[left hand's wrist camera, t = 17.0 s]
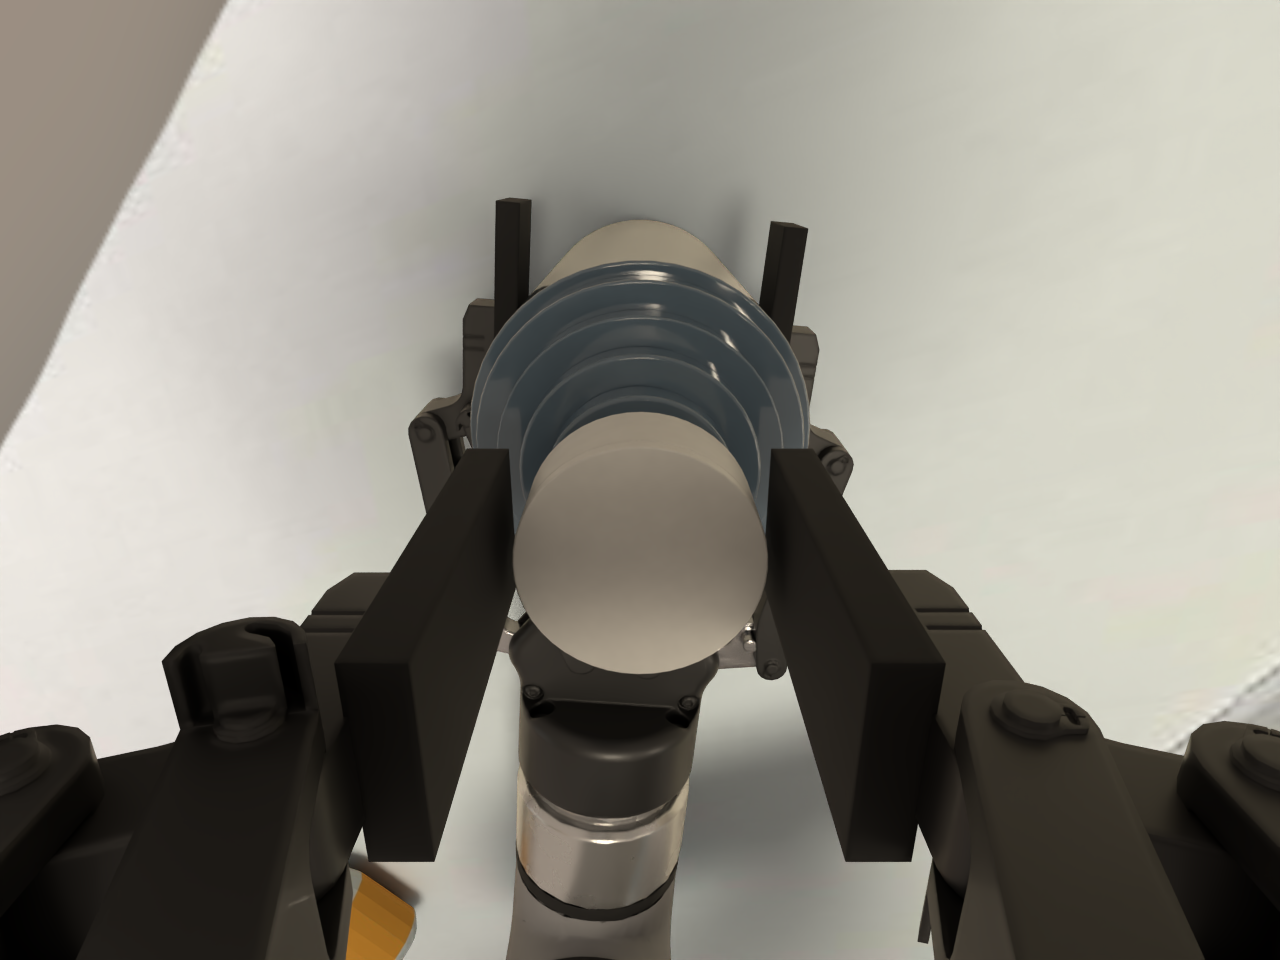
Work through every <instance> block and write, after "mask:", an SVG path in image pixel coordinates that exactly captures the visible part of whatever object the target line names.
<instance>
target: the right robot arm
mask: <svg viewBox="0 0 1280 960" xmlns="http://www.w3.org/2000/svg"><path fill="white" fill-rule="evenodd" d="M530 232H531V200H529V199H518V198H506V199H501V200H497V201H496V222H495V292H494V300H492V299H480V298H477V299H476V300H474V301H473V302H472V303H470V304H469V306H468V308H467V311H466V313H465V315H464V318H463V390H462V393H461V394H458V395H456V396H452V397H448V398H435V399H433V400H431V401H430V402H429V403H428V404H427V405H426V406H425V407H424V409H423V410H422V411H421V412H420V413H419V414H418V415H417V416H416V417H415V419H414V420H413V421H412V422H411V423H410V426H409V428H408V433H409V439H410V443H411V448H412V452H413V457H414V461H415V465H416V470H417V474H418V479H419V483H420V487H421V492H422V496H423V501H424V505H425V509H426V514H427V512H428V511H429V509H430V507H431V506H432V504H433V503H434V501H435V499H436V498H437V496H438V495H439V493H440V491H441V490H442V488H443V487H444V485H445V483H446V482H447V480H448V478H449V477H450V475H451V474H452V472H453V470H454V469H455V467H456V466H457V464H458V462H459V461H460V459H461V457H462V456H463V454H464V453H465V446H464V441H463V437H464V436H467V438H468V440H469V442H470V445H471V447H472V440H471V428H470V419H471V402H472V397H473V392H474V387H475V382H476V379H477V376H478V373H479V370H480V367H481V364H482V361H483V360H484V358H485V356H486V354H487V352H488V350H489V348H490V346H491V344H492V342H493V340H494V339H495V337H496V336H497V335H498V333H499V332H500V330H501V329H502V327H503V326H504V325H505V323H506V322H507V321H508V320H509V319H510V317H511V316H512V315H513V314H514V313H515V312H516V311H517V309H518V308H519V307H520V306H521V305H522V304H523V303H524V301H525V300H526V299H527V298H528V297H529V265H530ZM807 233H808V228H805V227H802V226H799V225H796V224H794V223H786V222H775V221H771V224H770V231H769V238H768V245H767V252H766V260H765V267H764V274H763V281H762V288H761V295H760V302H759V306H760V307H761V308H762V309H763V310H764V311H765V312H766V314H767V315H768V316H769V317H770V318H771V319H772V320H773V322H774V323H775V324H776V325H777V327H778V328H779V330H780V331H781V333H782V334H783V335H784V337H785V338H786V340H787V341H788V343H789V345H790V347H791V349H792V351H793V353H794V355H795V357H796V359H797V361H798V363H799V366H800V369H801V372H802V375H803V378H804V381H805V385H806V390H807V395H808V400H809V406H810V401H811V395H812V389H813V383H814V377H815V372H816V365H817V360H818V354H819V346H818V342H817V337H816V334H815V333H814V332H813V331H812V330H811V329H809V328H808V327H805V326H793V322H794V315H795V309H796V303H797V296H798V290H799V284H800V277H801V271H802V265H803V258H804V252H805V246H806V240H807ZM472 449H473V448H472ZM808 449H814V451H815V453H816V454H817V456H818V457H819V459H820V461H821V462H822V464H823V466H824V467H825V469H826V470H827V472H828V474H829V475H830V477H831V478H832V480H833V482H834V483H835V485H836V487H837V488H838V490H839V491H840V493H841V495H843V492H844V490H845V487H846V485H847V483H848V480H849V478H850V475H851V473H852V470H853V465H854V464H853V459H852V457H851V456H850V455H849V453H848V452H847V450H846V449H845V448H844V446H843V445H842V444H841V442H840V441H839V440H838V438H837V437H836V436H835V434H834V433H833V432H831V431H829V430H827V429H820V428H818V427H815V426H813V425H811V424H810V432H809V444H808ZM497 651H500V652H504V653H509V657H510V660H511V662H512V664H513V665H514V667H515V668H516V670H517V672H518V674H519V677H520V682H521V690H520V721H519V751H518V752H519V762H520V765H519V770H518V774H517V821H516V873H515V887H514V902H513V915H512V924H511V932H510V939H509V945H508V950H507V956H506V960H671V951H670V931H671V915H672V904H673V894H674V884H675V874H676V869H677V864H678V857H679V852H680V848H681V843H682V836H683V829H684V821H685V814H686V807H687V800H688V793H689V775H690V772H691V768H692V762H693V755H694V748H695V740H696V733H697V726H698V719H699V712H700V705H701V698H702V694H703V691H704V689H705V688H706V686H707V685H708V683H709V682H710V681H711V680H712V679H713V678H714V676H715V675H716V673H717V671H718V669H725V668H741V667H756V668H757V672H758V674H759V675H760V676H761V677H762V678H764V679H766V680H775V679H778V678H780V677H782V676H783V675H784V673H785V672H786V669H787V663H786V659H785V656H784V653H783V649H782V646H781V643H780V639H779V636H778V632H777V629H776V626H775V622H774V619H773V616H772V612H771V609H770V606H769V602H768V599H767V595H766V592H765V589H764V590H763V593H762V597H761V599H760V601H759V603H758V605H757V607H756V609H755V611H754V613H753V614H752V616H751V617H750V619H749V621H748V622H747V624H746V625H745V626H744V627H743V628H742V629H741V631H740V632H739V633H738V634H737V635H736V636H735V637H734V638H733V639H732V640H731V641H729V642H728V643H727V644H726V645H725V646H724V647H722V648H721V649H719V650H718V651H716V652H715V653H713V654H712V655H710V656H708V657H706V658H704V659H702V660H701V661H699V662H696V663H693V664H691V665H688V666H686V667H683V668H679V669H675V670H671V671H666V672H660V673H651V674H631V673H620V672H615V671H609V670H605V669H602V668H598V667H595V666H592V665H589V664H587V663H585V662H582V661H580V660H578V659H576V658H574V657H572V656H571V655H569V654H567V653H565V652H564V651H563V650H561V649H560V648H559V647H557V646H556V645H555V644H553V643H552V642H551V641H550V640H549V639H548V638H547V637H546V636H545V635H544V634H543V633H541V631H540V630H539V629H538V628H537V626H536V625H535V624H534V623H533V621H532V620H531V618H530V617H529V615H528V613H527V612H525V613H524V614H523V615H522V617H521V618H520V619H519V620H518V621H515V620H512V619H510V618H509V617H508V616H507V619H506V622H505V626H504V629H503V632H502V636H501V639H500V643H499V646H498V649H497Z"/></svg>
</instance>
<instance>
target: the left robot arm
mask: <svg viewBox="0 0 1280 960" xmlns="http://www.w3.org/2000/svg"><path fill="white" fill-rule="evenodd" d="M765 536H766V540H767V548H768V572H767V578H766V584H765V587H764V589H765V592H766V595H767V599H768V602H769V606H770V609H771V612H772V616H773V619H774V622H775V626H776V629H777V632H778V636H779V639H780V643H781V646H782V649H783V653H784V656H785V659H786V663H787V666H788V669H789V673H790V676H791V680H792V683H793V686H794V690H795V693H796V696H797V700H798V703H799V707H800V710H801V713H802V717H803V720H804V723H805V727H806V730H807V733H808V737H809V740H810V744H811V747H812V750H813V754H814V757H815V760H816V764H817V767H818V770H819V774H820V777H821V781H822V784H823V787H824V791H825V794H826V797H827V801H828V804H829V808H830V811H831V814H832V818H833V821H834V824H835V828H836V831H837V834H838V838H839V841H840V845H841V848H842V851H843V855H844V858H845V861H846V862H911V861H912V855H913V849H914V843H915V838H916V832H917V826H918V824H919V827H920V829H921V832H922V834H923V836H924V839H925V841H926V843H927V846H928V848H929V850H930V853H931V855H932V857H933V858H932V864H931V869H930V874H929V879H928V885H927V890H926V895H925V901H924V906H923V911H922V917H921V922H920V928H919V935H918V942H922V943H927V944H928V941H929V936H930V931H931V933H932V942H933V951H934V959H935V960H1280V732H1279V731H1277V730H1274V729H1271V730H1270V729H1268V728H1267V727H1262V726H1258V725H1253V724H1246V723H1237V722H1229V721H1221V722H1215V723H1208V724H1203V725H1202V726H1200V727H1199V728H1198V729H1197V730H1195V731H1194V732H1193V733H1192V734H1191V736H1190V739H1189V742H1188V745H1187V749H1186V752H1185V755H1184V756H1182V755H1177V754H1172V753H1168V752H1163V751H1158V750H1153V749H1148V748H1143V747H1139V746H1134V745H1129V744H1124V743H1120V742H1116V741H1113V740H1109V739H1105V738H1104V737H1103V735H1102V732H1101V730H1100V728H1099V727H1098V726H1097V724H1096V723H1095V722H1094V720H1093V719H1092V718H1091V716H1090V715H1089V714H1088V712H1086V711H1085V710H1083V709H1082V708H1081V707H1079V706H1078V705H1077V704H1075V703H1074V702H1072V701H1071V700H1070V699H1068V698H1067V697H1064V696H1062V695H1060V694H1058V693H1055V692H1053V691H1051V690H1049V689H1046V688H1044V687H1041V686H1037V685H1033V684H1029V683H1024V681H1023V680H1022V679H1021V677H1020V676H1019V675H1018V673H1017V672H1016V671H1015V669H1014V668H1013V666H1012V665H1011V664H1010V662H1009V661H1008V660H1007V658H1006V657H1005V656H1004V654H1003V653H1002V652H1001V650H1000V649H999V648H998V646H997V645H996V644H995V642H994V641H993V640H992V638H991V637H990V636H989V634H988V633H987V632H986V630H982V625H981V624H980V622H979V621H978V620H977V618H976V617H975V616H974V614H973V613H972V612H969V608H968V606H967V605H966V604H965V602H964V601H963V600H962V598H961V597H960V596H959V594H958V593H957V592H956V590H955V589H954V588H953V587H952V586H950V585H948V584H947V583H945V582H944V581H942V580H941V579H939V578H938V577H936V576H935V575H933V574H931V573H930V572H928V571H927V570H888V569H887V567H886V566H885V564H884V562H883V561H882V559H881V558H880V556H879V554H878V553H877V551H876V549H875V548H874V546H873V545H872V543H871V541H870V540H869V538H868V537H867V535H866V533H865V532H864V530H863V528H862V527H861V525H860V524H859V522H858V520H857V519H856V517H855V516H854V514H853V512H852V511H851V509H850V507H849V506H848V504H847V503H846V501H845V499H844V498H843V496H842V495H841V493H840V491H839V490H838V488H837V487H836V485H835V483H834V482H833V480H832V478H831V477H830V475H829V474H828V472H827V470H826V469H825V467H824V466H823V464H822V462H821V461H820V459H819V457H818V456H817V454H816V453H815V451H814V449H771V457H770V472H769V487H768V502H767V517H766V532H765ZM514 539H515V532H514V517H513V503H512V488H511V473H510V458H509V449H466V451H465V453H464V454H463V456H462V457H461V459H460V461H459V462H458V464H457V466H456V467H455V469H454V470H453V472H452V474H451V475H450V477H449V478H448V480H447V482H446V483H445V485H444V487H443V488H442V490H441V491H440V493H439V495H438V496H437V498H436V499H435V501H434V503H433V504H432V506H431V507H430V509H429V511H428V512H427V514H426V516H425V517H424V519H423V520H422V522H421V524H420V525H419V527H418V528H417V530H416V532H415V533H414V535H413V537H412V538H411V540H410V541H409V543H408V545H407V546H406V548H405V549H404V551H403V553H402V554H401V556H400V557H399V559H398V561H397V562H396V564H395V566H394V567H393V569H392V570H391V572H390V573H353V574H351V575H350V576H348V577H347V578H345V579H344V580H342V581H341V582H339V583H337V584H336V585H334V586H333V587H331V588H330V589H328V590H327V591H326V592H325V594H324V595H323V596H322V598H321V599H320V600H319V602H318V603H317V604H316V606H315V607H314V608H313V610H312V614H311V615H308V616H307V618H306V619H305V621H304V622H303V623H302V625H301V626H299V625H297V624H296V623H295V622H294V621H290V620H286V619H281V618H277V617H249V618H244V619H239V620H235V621H230V622H225V623H221V624H219V625H216V626H213V627H211V628H208V629H206V630H203V631H200V632H198V633H196V634H194V635H193V636H191V637H189V638H188V639H186V640H185V641H183V642H181V643H180V644H178V645H176V646H175V647H174V648H173V649H172V650H171V651H170V653H169V654H168V655H167V656H166V657H165V658H164V659H163V660H162V665H163V668H164V672H165V676H166V679H167V683H168V687H169V690H170V694H171V698H172V701H173V705H174V708H175V712H176V716H177V719H178V723H179V727H180V732H179V734H178V736H177V738H176V740H175V742H173V743H169V744H165V745H162V746H158V747H153V748H148V749H144V750H139V751H134V752H129V753H124V754H120V755H115V756H110V757H105V758H100V759H97V758H96V755H95V752H94V749H93V746H92V742H91V739H90V737H89V736H88V735H86V734H85V733H84V732H83V731H81V730H80V729H79V728H76V727H70V726H63V725H48V726H40V727H31V728H26V729H21V730H17V731H14V732H13V733H10V732H9V733H7V734H4V735H1V736H0V960H346V952H347V944H348V935H349V926H350V917H351V908H352V899H353V888H352V881H351V874H350V869H349V864H348V859H349V857H350V854H351V852H352V850H353V847H354V845H355V843H356V840H357V838H358V835H359V833H360V831H361V828H362V826H363V832H364V838H365V843H366V849H367V855H368V861H369V862H434V861H435V858H436V855H437V851H438V848H439V845H440V841H441V838H442V834H443V831H444V828H445V824H446V821H447V818H448V814H449V811H450V807H451V804H452V801H453V797H454V794H455V791H456V787H457V784H458V781H459V777H460V774H461V770H462V767H463V764H464V760H465V757H466V754H467V750H468V747H469V744H470V740H471V737H472V733H473V730H474V727H475V723H476V720H477V717H478V713H479V710H480V706H481V703H482V700H483V696H484V693H485V690H486V686H487V683H488V680H489V676H490V673H491V669H492V666H493V663H494V659H495V656H496V653H497V649H498V646H499V643H500V639H501V636H502V632H503V629H504V626H505V622H506V619H507V616H508V612H509V609H510V605H511V602H512V599H513V595H514V592H515V589H516V585H515V581H514V575H513V567H512V554H513V545H514Z"/></svg>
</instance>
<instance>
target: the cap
mask: <svg viewBox="0 0 1280 960" xmlns="http://www.w3.org/2000/svg"><path fill="white" fill-rule="evenodd" d="M512 567H513V575H514V581H515V585H516V588H517V592H518V595H519V597H520V600H521V602H522V604H523V607H524V608H525V610H526V612H527V613H528V615H529V617H530V618H531V620H532V621H533V623H534V624H535V625H536V626H537V628H538V629H539V630H540V631H541V633H543V634H544V635H545V636H546V637H547V638H548V639H549V640H550V641H551V642H552V643H553V644H555V645H556V646H557V647H559V648H560V649H561V650H563V651H564V652H565V653H567V654H569V655H571V656H572V657H574V658H576V659H578V660H580V661H582V662H585V663H587V664H589V665H592V666H595V667H598V668H602V669H605V670H609V671H615V672H620V673H631V674H651V673H660V672H666V671H671V670H675V669H679V668H683V667H686V666H688V665H691V664H693V663H696V662H699V661H701V660H702V659H704V658H706V657H708V656H710V655H712V654H713V653H715V652H716V651H718V650H719V649H721V648H722V647H724V646H725V645H726V644H727V643H728V642H729V641H731V640H732V639H733V638H734V637H735V636H736V635H737V634H738V633H739V632H740V631H741V629H742V628H743V627H744V626H745V625H746V624H747V622H748V621H749V619H750V617H751V616H752V614H753V613H754V611H755V609H756V607H757V605H758V603H759V601H760V599H761V597H762V593H763V590H764V587H765V584H766V578H767V572H768V548H767V540H766V536H765V533H764V529H763V526H762V523H761V520H760V517H759V514H758V511H757V508H756V505H755V502H754V499H753V496H752V494H751V491H750V488H749V485H748V482H747V480H746V478H745V475H744V473H743V471H742V469H741V467H740V466H739V464H738V463H737V461H736V459H735V458H734V457H733V455H732V454H731V453H730V452H729V451H728V450H727V448H726V447H725V446H724V445H723V444H722V443H720V442H719V441H718V440H717V439H716V438H715V437H714V436H712V435H711V434H709V433H708V432H706V431H705V430H703V429H702V428H700V427H698V426H696V425H694V424H692V423H690V422H688V421H685V420H682V419H680V418H677V417H674V416H669V415H665V414H660V413H650V412H628V413H621V414H616V415H611V416H607V417H604V418H601V419H598V420H595V421H593V422H591V423H589V424H586V425H584V426H582V427H581V428H579V429H577V430H576V431H574V432H573V433H571V434H570V435H568V436H567V437H566V438H565V439H563V440H562V441H561V442H560V443H559V444H558V445H557V446H556V447H555V448H554V449H553V450H552V451H551V452H550V453H549V455H548V456H547V457H546V459H545V460H544V462H543V463H542V465H541V466H540V468H539V470H538V472H537V474H536V476H535V478H534V481H533V484H532V487H531V490H530V493H529V496H528V499H527V502H526V504H525V507H524V510H523V513H522V516H521V519H520V522H519V525H518V528H517V531H516V534H515V539H514V545H513V554H512Z"/></svg>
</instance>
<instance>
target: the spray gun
mask: <svg viewBox="0 0 1280 960" xmlns="http://www.w3.org/2000/svg"><path fill="white" fill-rule="evenodd" d="M349 869H350V874H351V881H352V888H353V899H352V908H351V917H350V926H349V935H348V944H347V952H346V960H402V959H403V958H404V956H405V955H406V953H407V951H408V950H409V948H410V946H411V944H412V942H413V940H414V938H415V934H416V929H417V925H416V913H415V910H414V908H413V907H411V906H410V905H408V904H407V903H406V902H404V901H403V900H401V899H400V898H398V897H397V896H395V895H394V894H393V893H391V892H390V891H388V890H387V889H385V888H384V887H383V886H381V885H380V884H378V883H377V882H375V881H374V880H372V879H371V878H370V877H368V876H367V875H365V874H364V873H362V872H360V871H358V870H355V869H351V868H349Z"/></svg>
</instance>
